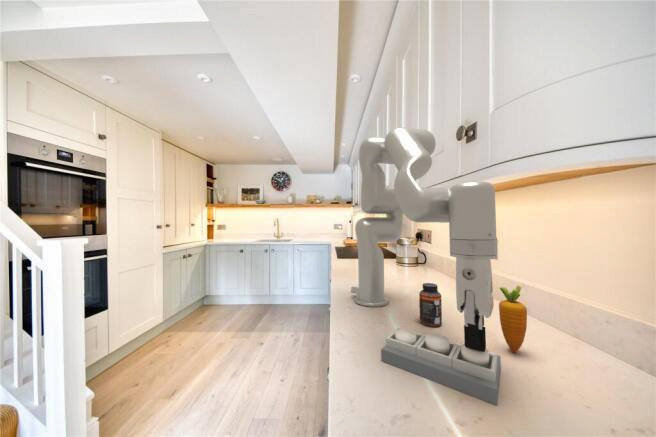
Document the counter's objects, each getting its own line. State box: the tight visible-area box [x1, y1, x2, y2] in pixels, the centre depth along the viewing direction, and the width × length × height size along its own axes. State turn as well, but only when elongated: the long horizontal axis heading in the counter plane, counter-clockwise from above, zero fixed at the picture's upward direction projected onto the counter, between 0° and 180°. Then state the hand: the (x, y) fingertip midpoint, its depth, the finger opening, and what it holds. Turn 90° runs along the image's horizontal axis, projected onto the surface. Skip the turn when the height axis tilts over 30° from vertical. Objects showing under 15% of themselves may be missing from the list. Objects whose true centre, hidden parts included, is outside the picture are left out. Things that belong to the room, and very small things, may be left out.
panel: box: [380, 327, 502, 406], centre depth 48 cm, size 20×12×4 cm, turn 51°
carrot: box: [498, 285, 528, 354], centre depth 53 cm, size 5×5×15 cm
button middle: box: [425, 333, 450, 355], centre depth 48 cm, size 4×4×2 cm
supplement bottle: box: [418, 282, 443, 328], centre depth 68 cm, size 6×6×11 cm
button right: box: [460, 342, 490, 367], centre depth 44 cm, size 4×4×2 cm
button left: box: [395, 328, 417, 345], centre depth 52 cm, size 4×4×2 cm
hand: (475, 347), depth 43 cm, fingers closed
